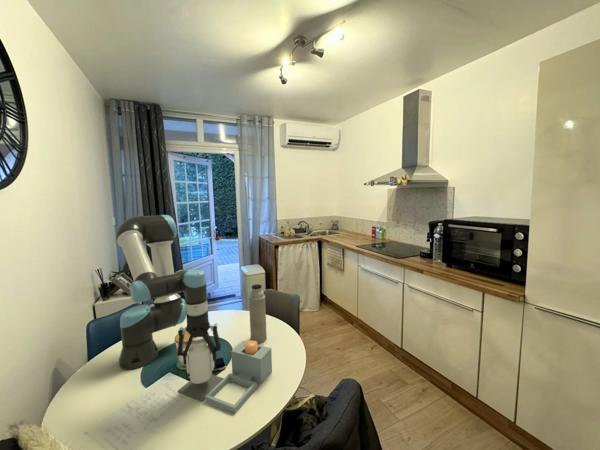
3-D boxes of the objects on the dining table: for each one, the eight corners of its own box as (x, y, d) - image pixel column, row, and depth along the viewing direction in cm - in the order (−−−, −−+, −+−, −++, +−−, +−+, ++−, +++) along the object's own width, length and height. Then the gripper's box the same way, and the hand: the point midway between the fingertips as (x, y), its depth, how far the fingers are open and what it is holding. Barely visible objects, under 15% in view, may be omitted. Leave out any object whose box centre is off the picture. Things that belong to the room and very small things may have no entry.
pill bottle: (213, 380, 98) (210, 342, 96) (189, 387, 95) (187, 347, 93) (211, 368, 105) (209, 332, 104) (190, 373, 102) (187, 337, 101)
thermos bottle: (258, 333, 139) (256, 282, 136) (269, 337, 135) (268, 284, 132) (247, 340, 132) (245, 286, 129) (259, 344, 128) (257, 289, 125)
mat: (177, 392, 98) (177, 390, 98) (201, 372, 108) (201, 371, 108) (202, 401, 93) (201, 400, 93) (224, 380, 103) (224, 378, 103)
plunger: (243, 362, 106) (242, 345, 105) (250, 355, 110) (249, 339, 110) (253, 365, 104) (252, 348, 103) (260, 358, 108) (259, 342, 108)
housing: (204, 401, 93) (202, 375, 92) (244, 362, 114) (243, 341, 113) (236, 414, 87) (234, 386, 86) (272, 371, 108) (271, 348, 107)
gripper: (163, 319, 92) (168, 380, 94) (225, 313, 96) (228, 372, 98) (170, 310, 99) (174, 367, 102) (226, 305, 103) (229, 359, 105)
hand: (201, 369), depth 100 cm, fingers closed on pill bottle, 8 cm apart
